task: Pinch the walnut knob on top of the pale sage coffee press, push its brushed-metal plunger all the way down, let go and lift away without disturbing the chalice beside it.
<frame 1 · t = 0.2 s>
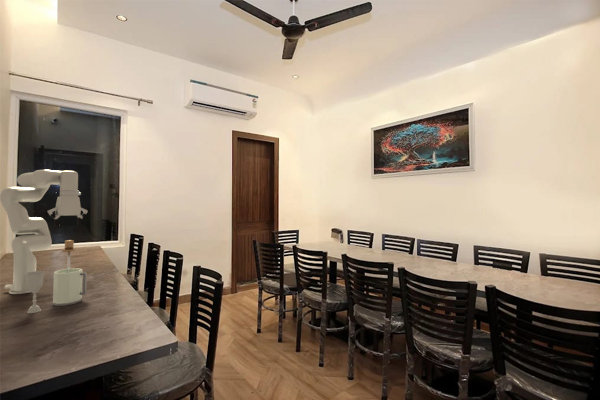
hand: (68, 226, 158), 38 cm above the table, tool pointing down, fingers open, 9 cm apart
plunger: (68, 261, 152), point 21 cm above the table, slide at 0.0 cm
chalice: (34, 311, 139), on the table
press carafe: (67, 302, 152), on the table
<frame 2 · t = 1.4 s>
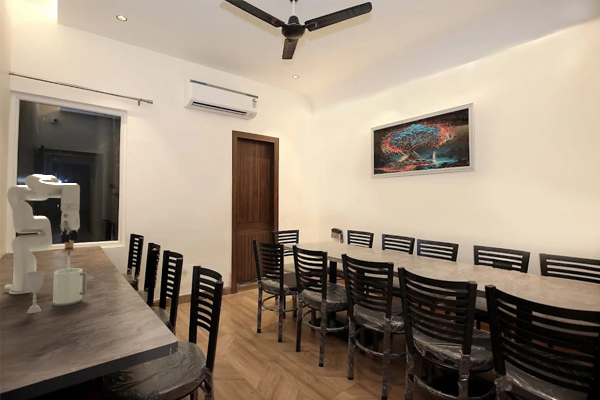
hand: (69, 241, 152), 31 cm above the table, tool pointing down, fingers open, 9 cm apart
nothing on the table moved.
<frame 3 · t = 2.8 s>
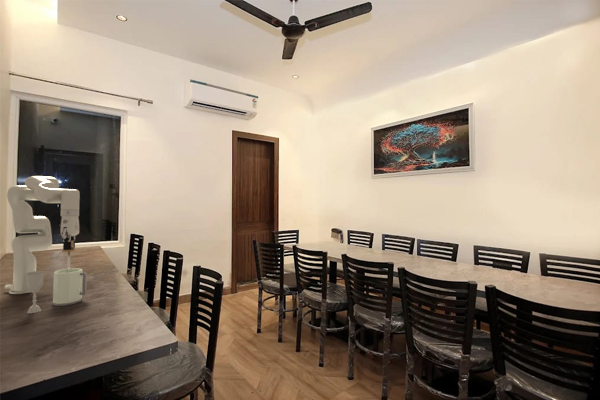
hand: (69, 248, 152), 27 cm above the table, tool pointing down, fingers closed on plunger, 3 cm apart
plunger: (68, 261, 152), point 21 cm above the table, slide at 0.0 cm, touching gripper
everything else where it was.
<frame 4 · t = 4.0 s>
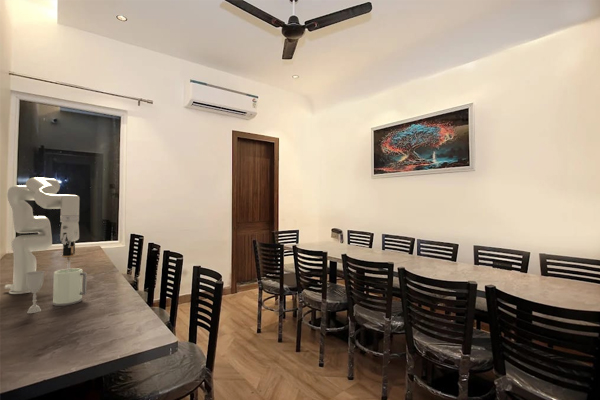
hand: (68, 254, 152), 24 cm above the table, tool pointing down, fingers closed on plunger, 3 cm apart
plunger: (68, 267, 152), point 18 cm above the table, slide at 2.9 cm, touching gripper
everything else where it was.
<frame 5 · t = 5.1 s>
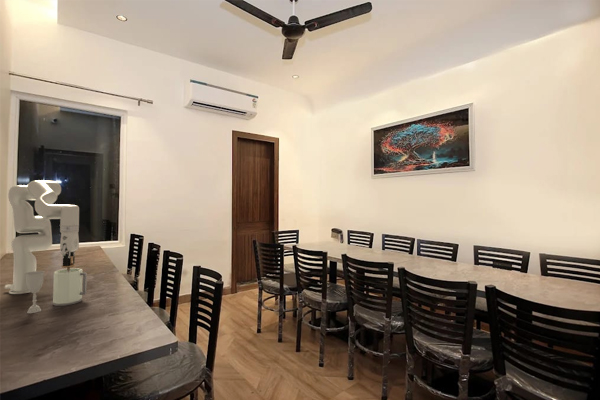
hand: (68, 264, 152), 19 cm above the table, tool pointing down, fingers closed on plunger, 3 cm apart
plunger: (68, 277, 152), point 13 cm above the table, slide at 8.1 cm, touching gripper
everything else where it was.
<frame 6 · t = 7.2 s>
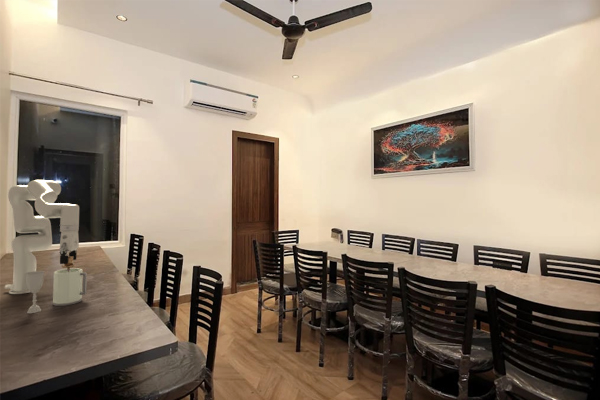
hand: (68, 261, 152), 21 cm above the table, tool pointing down, fingers open, 9 cm apart
plunger: (68, 277, 152), point 13 cm above the table, slide at 8.1 cm
everything else where it was.
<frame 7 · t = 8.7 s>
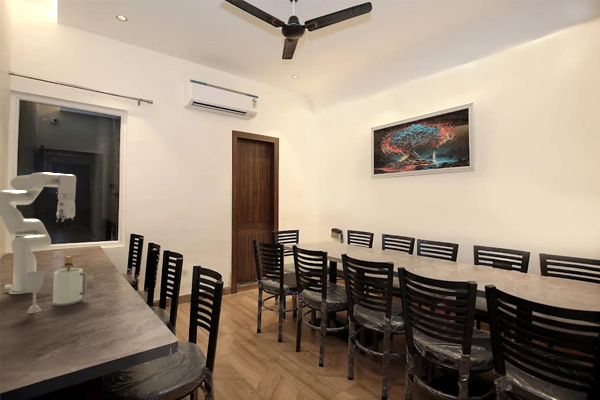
hand: (64, 228, 162), 37 cm above the table, tool pointing down, fingers open, 9 cm apart
nothing on the table moved.
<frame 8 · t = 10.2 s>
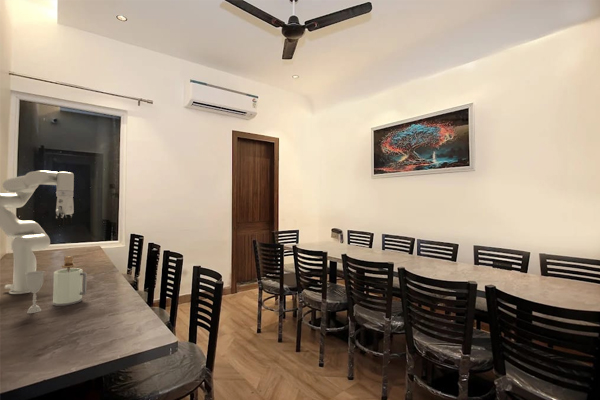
hand: (64, 224, 166), 38 cm above the table, tool pointing down, fingers open, 9 cm apart
nothing on the table moved.
at the end: plunger slide at 8.1 cm; the gripper is holding nothing; chalice moved 0.2 cm from its start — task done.
